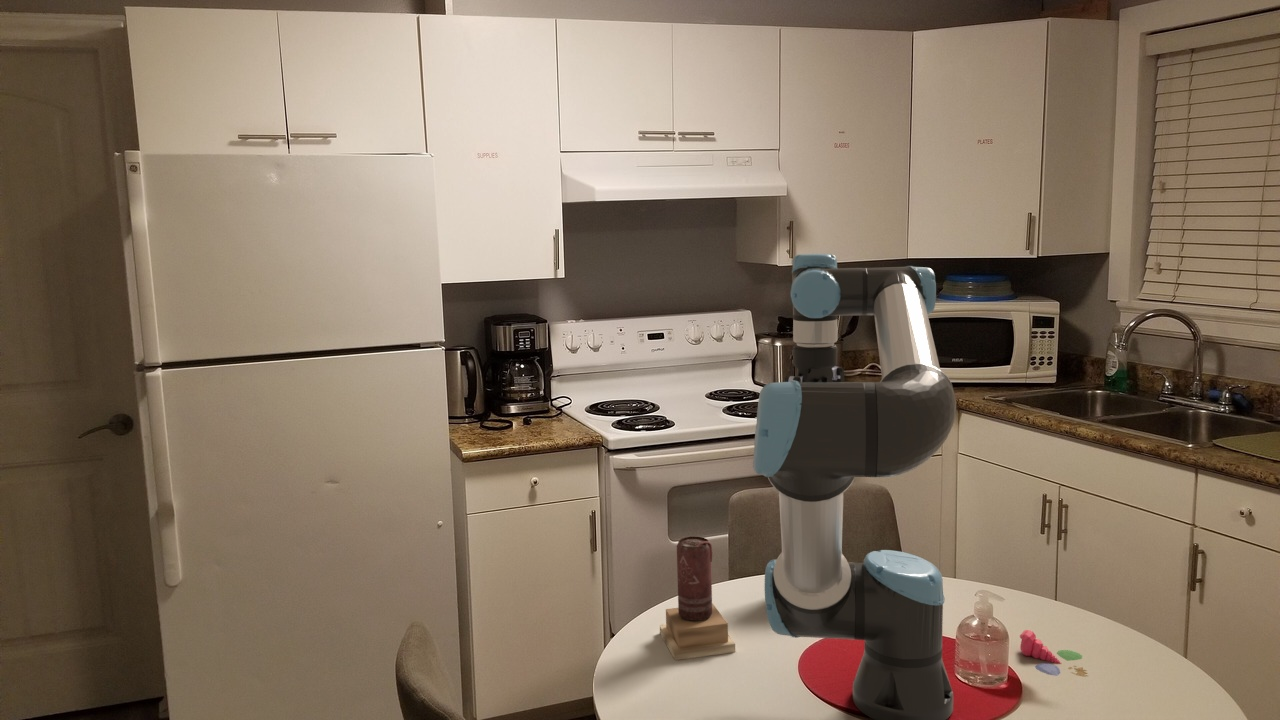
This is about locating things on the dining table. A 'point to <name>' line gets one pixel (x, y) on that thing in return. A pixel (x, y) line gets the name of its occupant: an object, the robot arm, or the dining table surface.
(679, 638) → the stand
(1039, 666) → the toy pieces
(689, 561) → the can
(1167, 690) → the dining table surface
